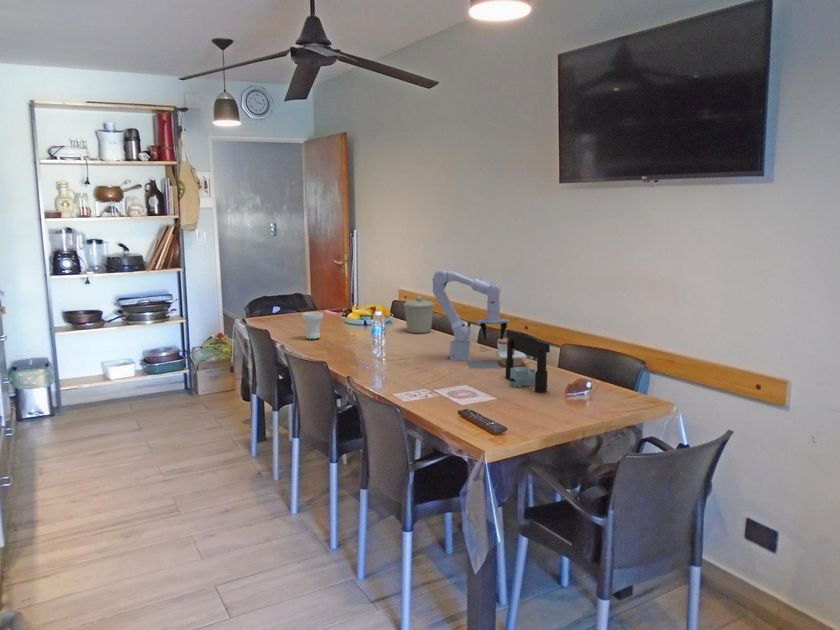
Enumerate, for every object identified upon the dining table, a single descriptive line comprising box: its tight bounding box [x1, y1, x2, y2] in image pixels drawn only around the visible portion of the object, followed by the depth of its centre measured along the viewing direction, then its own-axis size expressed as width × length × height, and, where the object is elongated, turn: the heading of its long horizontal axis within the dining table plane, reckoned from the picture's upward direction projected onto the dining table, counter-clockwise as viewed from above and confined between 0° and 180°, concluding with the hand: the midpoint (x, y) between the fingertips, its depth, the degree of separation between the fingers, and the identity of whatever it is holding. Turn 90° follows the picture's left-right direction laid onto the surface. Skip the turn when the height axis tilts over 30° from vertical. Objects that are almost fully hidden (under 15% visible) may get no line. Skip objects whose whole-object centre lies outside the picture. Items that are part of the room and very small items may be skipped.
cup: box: [301, 311, 324, 340], centre depth 359 cm, size 11×11×14 cm
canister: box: [403, 295, 436, 334], centre depth 379 cm, size 18×18×21 cm
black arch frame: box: [505, 328, 551, 393], centre depth 269 cm, size 16×21×33 cm
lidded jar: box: [496, 337, 517, 351], centre depth 321 cm, size 11×11×9 cm
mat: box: [466, 360, 501, 370], centre depth 302 cm, size 14×14×1 cm
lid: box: [496, 349, 528, 359], centre depth 302 cm, size 12×12×5 cm
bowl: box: [500, 358, 523, 368], centre depth 303 cm, size 9×9×4 cm
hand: (493, 339), depth 309 cm, fingers open, 7 cm apart
